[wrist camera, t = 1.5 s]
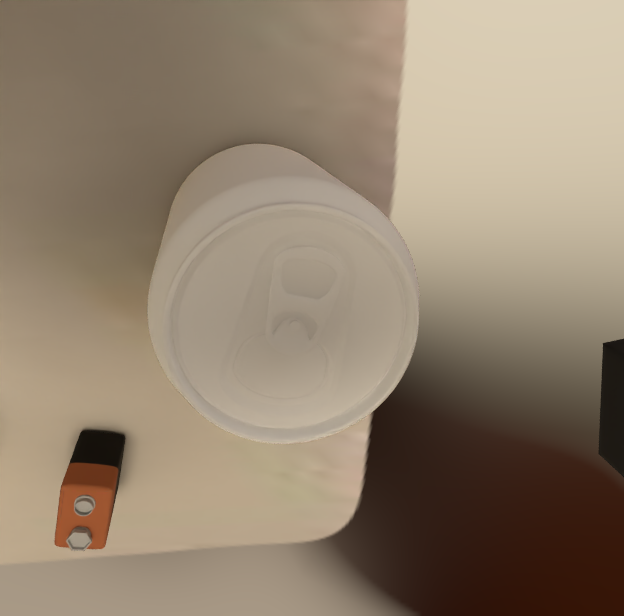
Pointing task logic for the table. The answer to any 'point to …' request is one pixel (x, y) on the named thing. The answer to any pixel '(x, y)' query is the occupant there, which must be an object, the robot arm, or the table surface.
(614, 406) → the robot arm
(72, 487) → the battery
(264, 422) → the beverage can
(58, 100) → the table surface
